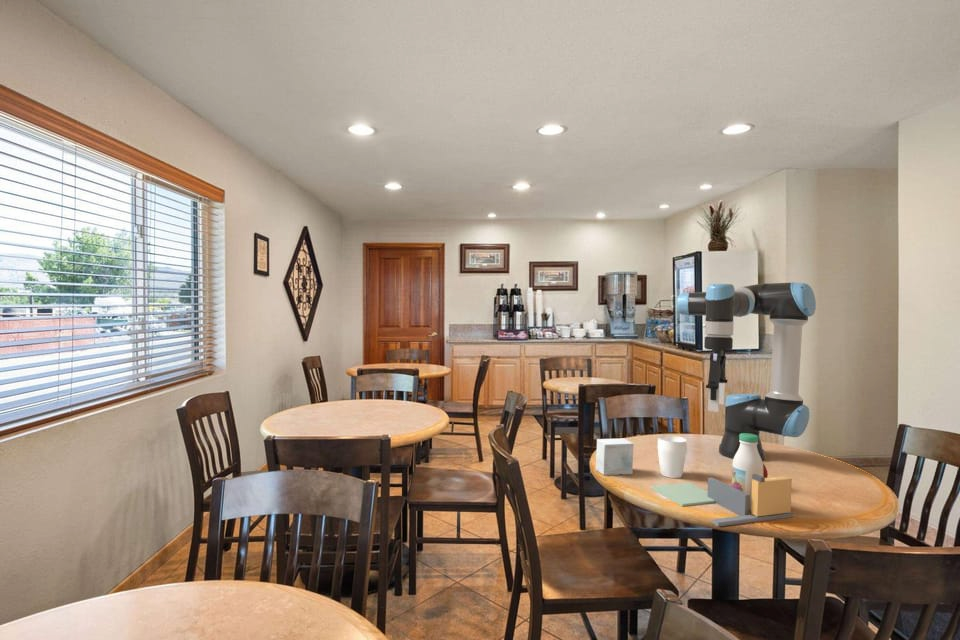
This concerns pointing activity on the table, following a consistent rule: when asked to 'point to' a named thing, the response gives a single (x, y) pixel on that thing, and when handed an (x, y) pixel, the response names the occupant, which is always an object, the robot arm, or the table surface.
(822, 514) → the table surface
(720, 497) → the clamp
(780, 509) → the tan wooden slab
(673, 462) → the cup
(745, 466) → the milk bottle
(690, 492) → the mat
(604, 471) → the skincare box
